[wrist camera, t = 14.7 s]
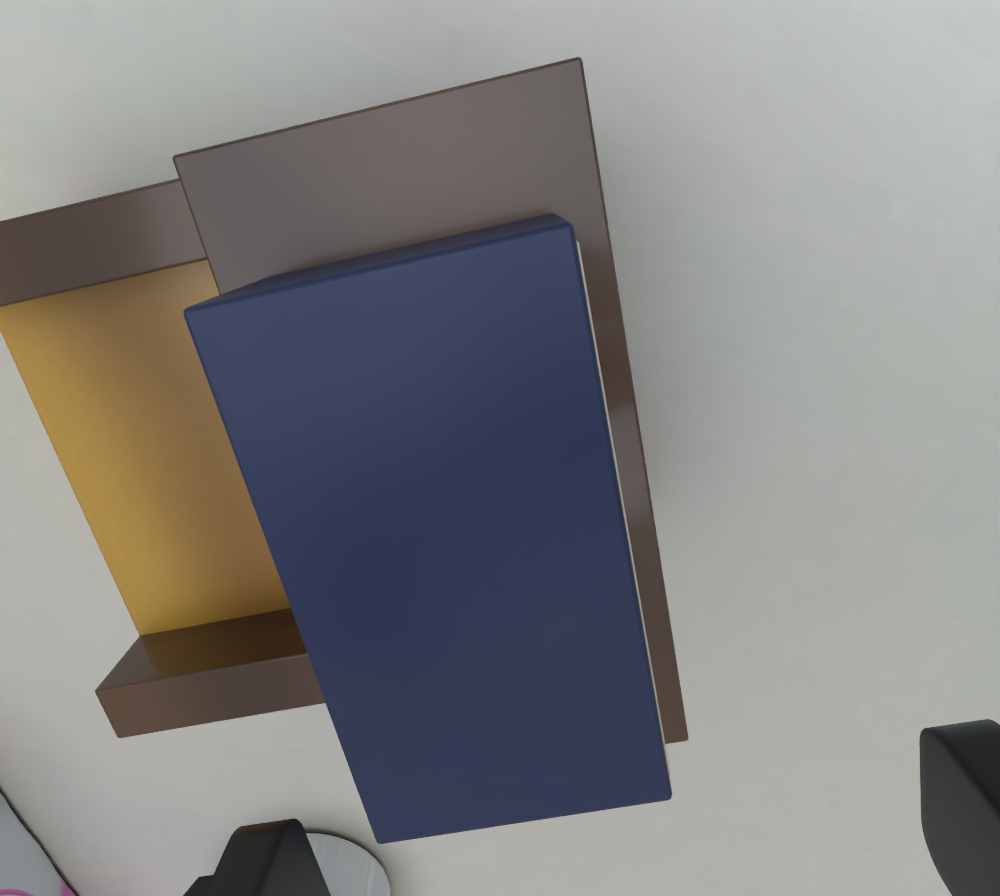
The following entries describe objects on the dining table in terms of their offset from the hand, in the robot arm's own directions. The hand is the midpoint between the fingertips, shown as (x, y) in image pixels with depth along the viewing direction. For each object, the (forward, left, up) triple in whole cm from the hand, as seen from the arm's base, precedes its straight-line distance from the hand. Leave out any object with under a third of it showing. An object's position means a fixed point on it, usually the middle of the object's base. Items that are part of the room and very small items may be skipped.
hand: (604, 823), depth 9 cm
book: (+2, -2, -8) cm, 8 cm away
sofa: (+7, -2, -21) cm, 22 cm away
